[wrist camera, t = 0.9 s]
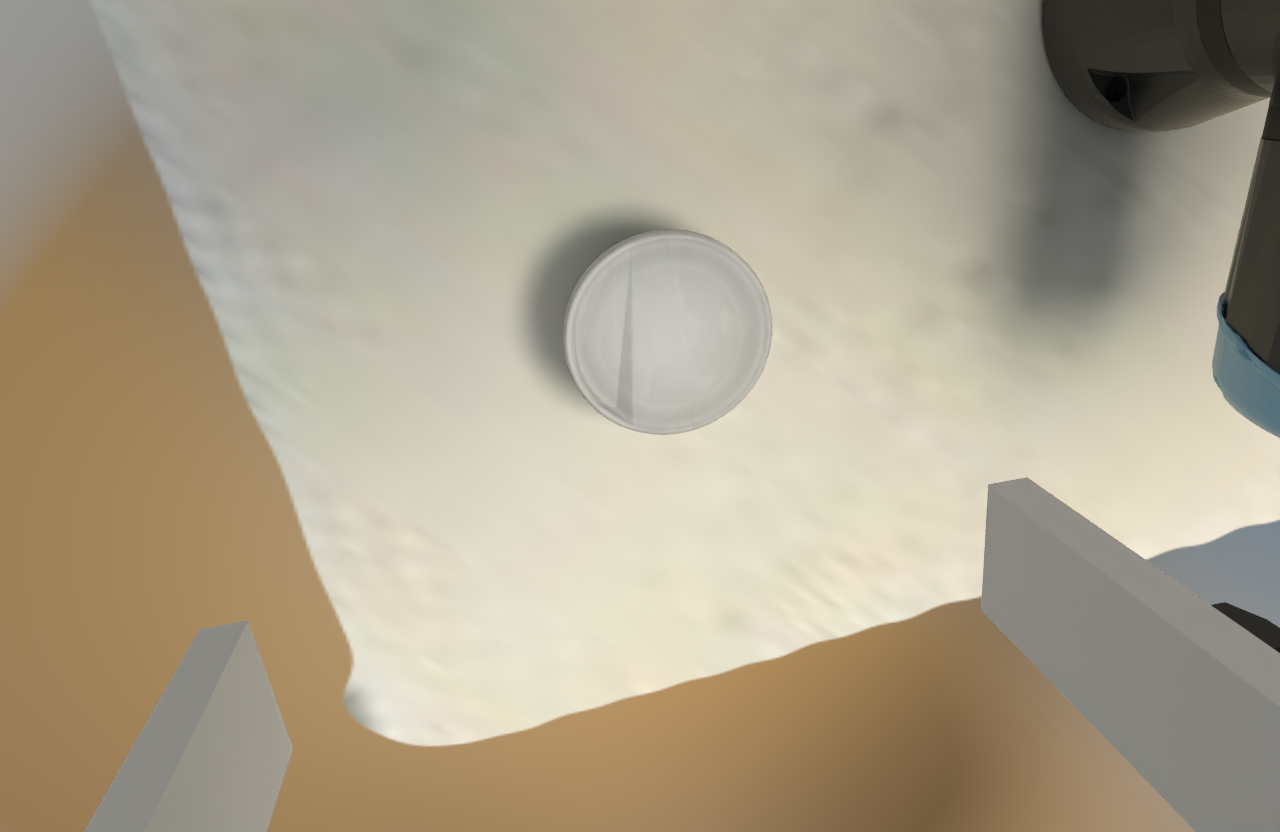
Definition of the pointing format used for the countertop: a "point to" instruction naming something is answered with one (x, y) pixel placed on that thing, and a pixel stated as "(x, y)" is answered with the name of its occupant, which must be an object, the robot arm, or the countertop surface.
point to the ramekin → (667, 331)
